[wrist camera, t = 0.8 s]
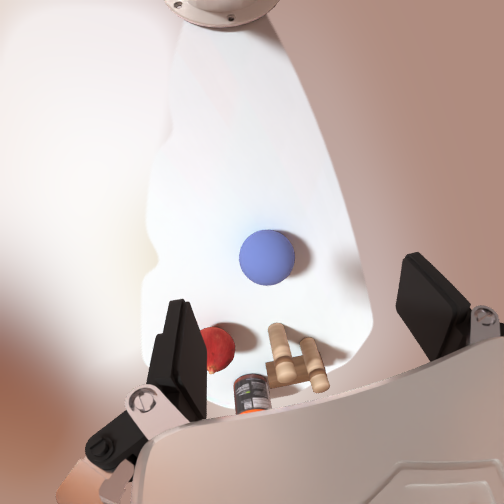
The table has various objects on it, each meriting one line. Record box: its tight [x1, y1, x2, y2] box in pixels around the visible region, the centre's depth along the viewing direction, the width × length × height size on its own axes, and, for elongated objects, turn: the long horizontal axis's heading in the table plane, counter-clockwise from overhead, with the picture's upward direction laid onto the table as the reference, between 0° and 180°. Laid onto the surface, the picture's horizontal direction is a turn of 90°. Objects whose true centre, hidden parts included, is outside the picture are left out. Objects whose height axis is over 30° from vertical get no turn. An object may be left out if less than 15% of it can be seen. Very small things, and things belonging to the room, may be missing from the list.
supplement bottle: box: [234, 374, 272, 415], centre depth 42 cm, size 6×6×11 cm
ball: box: [239, 230, 295, 286], centre depth 31 cm, size 6×6×6 cm
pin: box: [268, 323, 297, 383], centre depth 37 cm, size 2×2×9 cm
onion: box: [200, 327, 235, 374], centre depth 36 cm, size 6×6×8 cm
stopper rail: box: [266, 353, 326, 389], centre depth 43 cm, size 2×9×4 cm, turn 99°
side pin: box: [300, 337, 330, 393], centre depth 39 cm, size 2×2×9 cm
